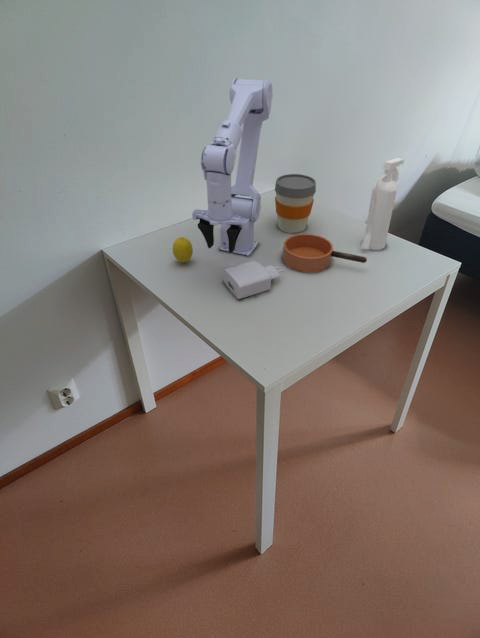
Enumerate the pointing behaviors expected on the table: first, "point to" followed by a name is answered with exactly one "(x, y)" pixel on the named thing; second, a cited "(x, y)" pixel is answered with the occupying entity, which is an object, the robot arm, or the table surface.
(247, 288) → the charger
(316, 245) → the pan
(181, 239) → the lemon
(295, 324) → the table surface
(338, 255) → the pan handle
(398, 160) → the white spray bottle
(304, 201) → the reusable coffee cup
